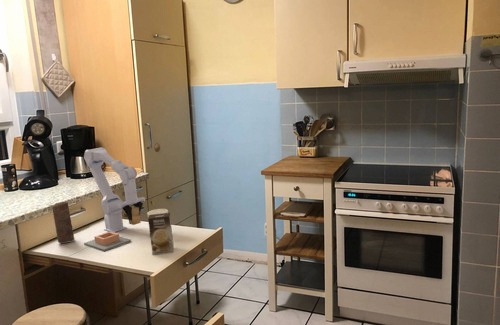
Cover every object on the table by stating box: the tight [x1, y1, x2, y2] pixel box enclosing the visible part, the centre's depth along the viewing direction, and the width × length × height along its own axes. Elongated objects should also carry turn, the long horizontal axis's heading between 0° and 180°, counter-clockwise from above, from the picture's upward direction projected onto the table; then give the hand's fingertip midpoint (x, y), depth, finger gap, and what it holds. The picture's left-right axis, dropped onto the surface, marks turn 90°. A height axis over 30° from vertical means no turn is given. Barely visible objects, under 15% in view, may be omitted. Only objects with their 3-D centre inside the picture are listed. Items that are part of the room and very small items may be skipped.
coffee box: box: [147, 212, 175, 256], centre depth 176 cm, size 9×6×16 cm
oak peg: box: [128, 206, 142, 226], centre depth 207 cm, size 4×4×8 cm
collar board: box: [83, 231, 132, 253], centre depth 195 cm, size 18×14×4 cm
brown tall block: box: [51, 201, 75, 244], centre depth 201 cm, size 8×7×20 cm
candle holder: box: [146, 208, 169, 218], centre depth 199 cm, size 10×10×12 cm
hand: (134, 218), depth 207 cm, fingers closed on oak peg, 4 cm apart
